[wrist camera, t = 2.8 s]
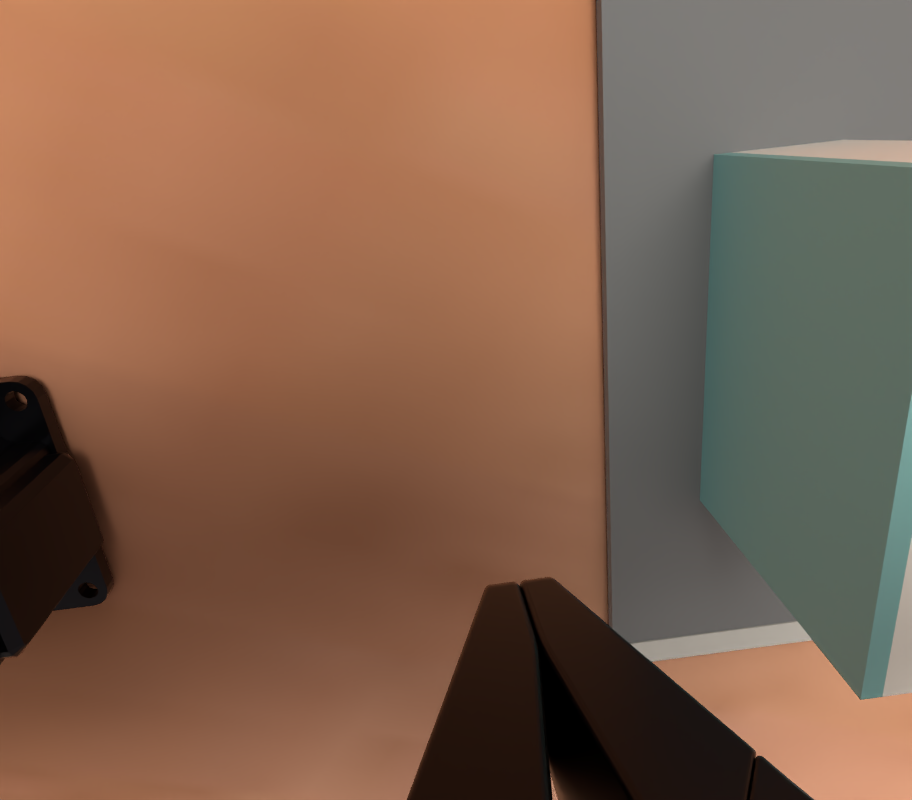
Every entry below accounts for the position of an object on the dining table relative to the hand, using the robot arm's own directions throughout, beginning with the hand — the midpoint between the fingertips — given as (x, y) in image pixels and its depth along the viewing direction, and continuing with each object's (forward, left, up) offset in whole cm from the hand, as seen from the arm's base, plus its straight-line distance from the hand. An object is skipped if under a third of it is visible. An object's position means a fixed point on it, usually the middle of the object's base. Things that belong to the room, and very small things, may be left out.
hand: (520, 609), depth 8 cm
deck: (+8, 0, -9) cm, 12 cm away
